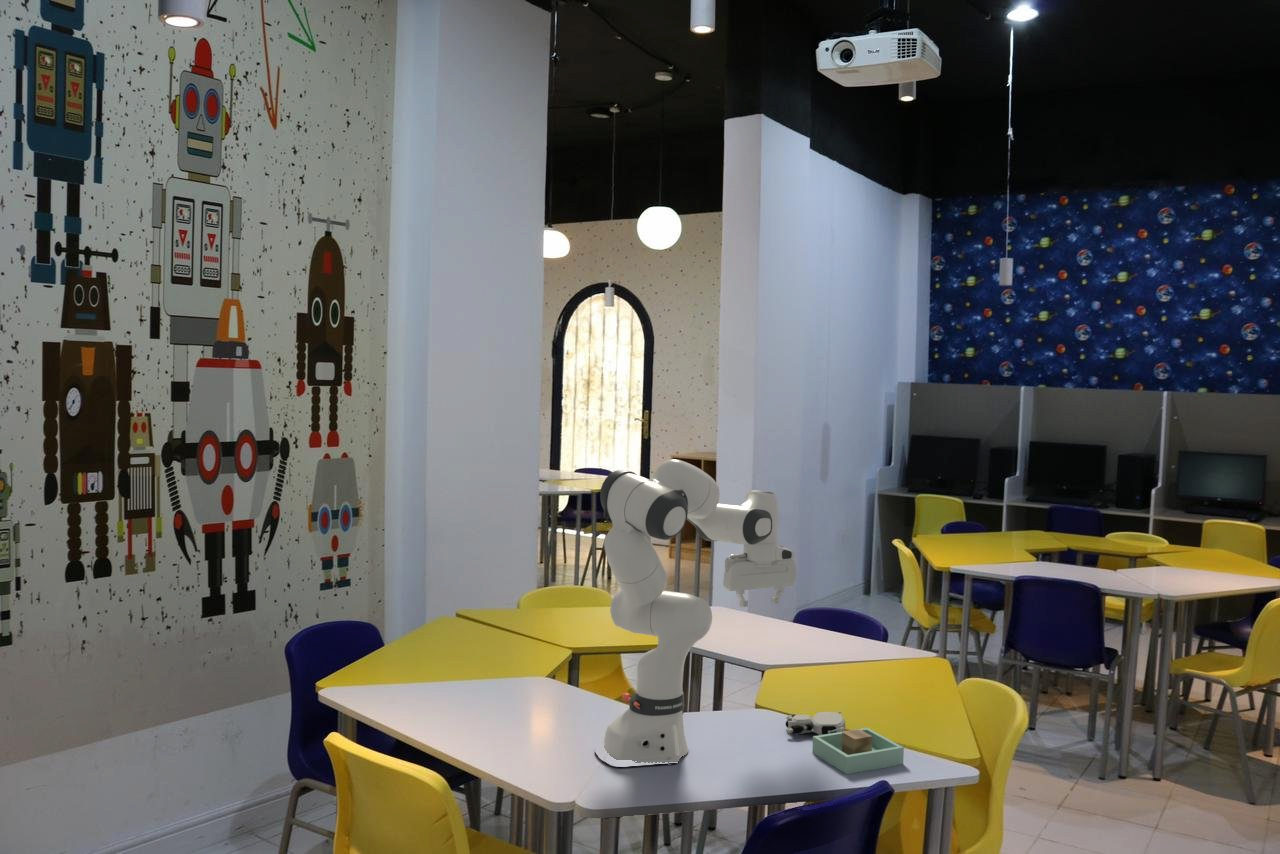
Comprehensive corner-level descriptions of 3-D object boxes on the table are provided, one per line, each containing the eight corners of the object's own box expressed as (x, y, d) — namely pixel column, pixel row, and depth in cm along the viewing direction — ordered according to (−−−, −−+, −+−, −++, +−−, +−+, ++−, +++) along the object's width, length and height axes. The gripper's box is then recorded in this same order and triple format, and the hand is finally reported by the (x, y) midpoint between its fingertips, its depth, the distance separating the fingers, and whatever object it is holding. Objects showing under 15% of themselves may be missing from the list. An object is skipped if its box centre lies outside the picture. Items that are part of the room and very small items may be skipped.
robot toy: (785, 743, 253) (846, 743, 251) (784, 725, 253) (846, 725, 251) (786, 726, 265) (844, 725, 263) (785, 709, 265) (843, 708, 263)
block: (854, 759, 238) (854, 739, 238) (841, 752, 243) (842, 732, 243) (871, 756, 240) (872, 736, 240) (859, 749, 245) (859, 729, 245)
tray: (846, 774, 232) (846, 757, 232) (812, 752, 245) (812, 736, 245) (903, 764, 238) (903, 747, 238) (867, 743, 251) (867, 727, 251)
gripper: (731, 557, 255) (730, 611, 256) (800, 551, 263) (799, 604, 264) (719, 552, 261) (718, 605, 262) (787, 547, 269) (786, 599, 270)
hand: (759, 605), depth 263 cm, fingers open, 8 cm apart
